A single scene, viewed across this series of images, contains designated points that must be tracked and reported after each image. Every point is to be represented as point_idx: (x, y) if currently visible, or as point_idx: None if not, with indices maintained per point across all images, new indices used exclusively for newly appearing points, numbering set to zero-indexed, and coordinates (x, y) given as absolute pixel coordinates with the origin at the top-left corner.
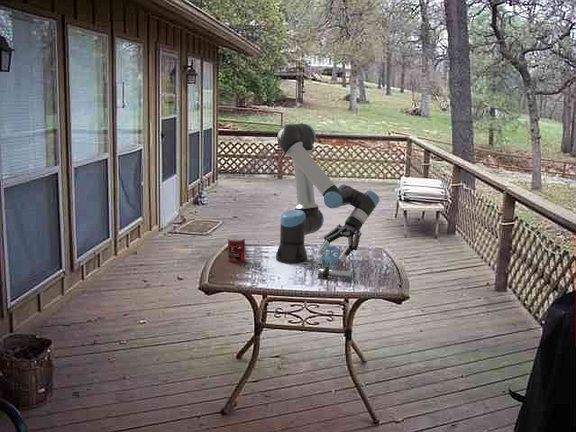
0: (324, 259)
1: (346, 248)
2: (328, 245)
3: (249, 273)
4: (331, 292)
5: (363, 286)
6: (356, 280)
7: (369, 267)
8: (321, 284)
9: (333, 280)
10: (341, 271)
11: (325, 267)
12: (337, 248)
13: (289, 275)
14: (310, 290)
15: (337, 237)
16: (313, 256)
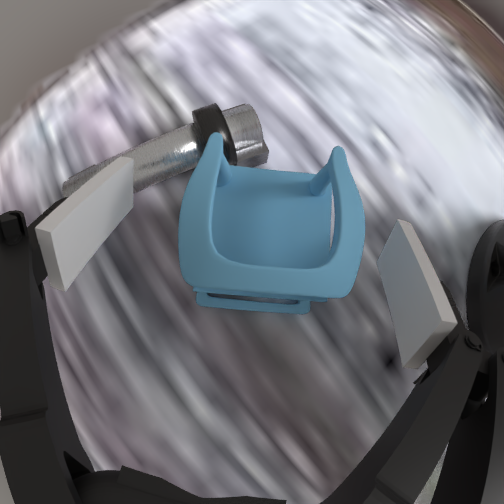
0: (287, 174)
1: (54, 217)
2: (402, 339)
3: (449, 44)
4: (101, 43)
5: (19, 186)
6: None
7: None
8: (176, 69)
9: None
10: (112, 160)
11: (215, 114)
12: (211, 254)
13: (366, 80)
14: (175, 10)
15: (368, 459)
16: None
